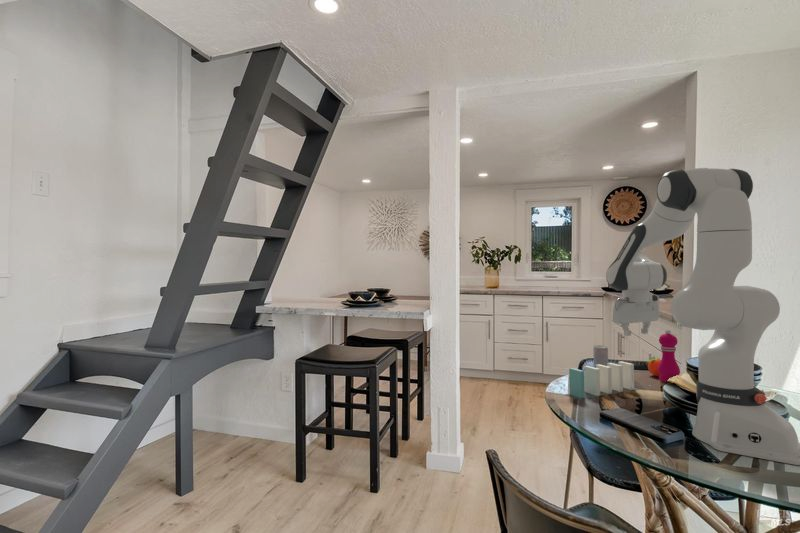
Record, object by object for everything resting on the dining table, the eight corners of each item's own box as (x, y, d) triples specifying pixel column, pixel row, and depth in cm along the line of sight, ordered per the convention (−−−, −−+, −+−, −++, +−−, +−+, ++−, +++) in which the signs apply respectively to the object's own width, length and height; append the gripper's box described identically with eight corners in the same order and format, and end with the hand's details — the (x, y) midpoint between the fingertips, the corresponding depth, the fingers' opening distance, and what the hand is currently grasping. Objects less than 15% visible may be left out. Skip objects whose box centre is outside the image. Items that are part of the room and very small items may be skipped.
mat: (624, 386, 154) (624, 384, 154) (639, 390, 148) (639, 389, 148) (564, 396, 143) (564, 394, 143) (577, 401, 137) (577, 399, 137)
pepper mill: (680, 385, 154) (679, 331, 154) (657, 383, 158) (656, 330, 158) (679, 381, 160) (678, 329, 160) (657, 378, 164) (656, 328, 164)
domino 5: (621, 385, 153) (621, 361, 153) (634, 389, 148) (633, 364, 148) (618, 386, 152) (618, 361, 152) (631, 389, 147) (630, 364, 148)
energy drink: (605, 374, 171) (604, 345, 171) (610, 377, 166) (610, 347, 166) (591, 374, 172) (591, 345, 172) (596, 377, 166) (596, 347, 166)
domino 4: (611, 387, 151) (610, 362, 151) (623, 391, 146) (622, 365, 146) (607, 388, 150) (607, 363, 150) (619, 391, 145) (619, 366, 145)
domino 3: (599, 389, 148) (599, 364, 149) (611, 393, 144) (611, 367, 144) (596, 390, 148) (596, 364, 148) (608, 393, 143) (607, 367, 143)
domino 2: (588, 391, 146) (587, 365, 146) (600, 395, 142) (599, 368, 142) (585, 391, 146) (584, 366, 146) (596, 395, 141) (596, 369, 141)
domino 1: (573, 393, 144) (572, 367, 144) (584, 397, 139) (584, 371, 139) (569, 394, 143) (569, 368, 143) (581, 398, 139) (580, 371, 139)
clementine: (651, 378, 164) (651, 360, 164) (641, 374, 171) (641, 356, 171) (672, 378, 164) (671, 360, 164) (661, 374, 171) (661, 356, 171)
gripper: (623, 298, 146) (623, 338, 146) (662, 296, 154) (662, 333, 154) (607, 297, 152) (608, 335, 152) (646, 295, 159) (647, 331, 159)
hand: (636, 334), depth 153 cm, fingers open, 8 cm apart
